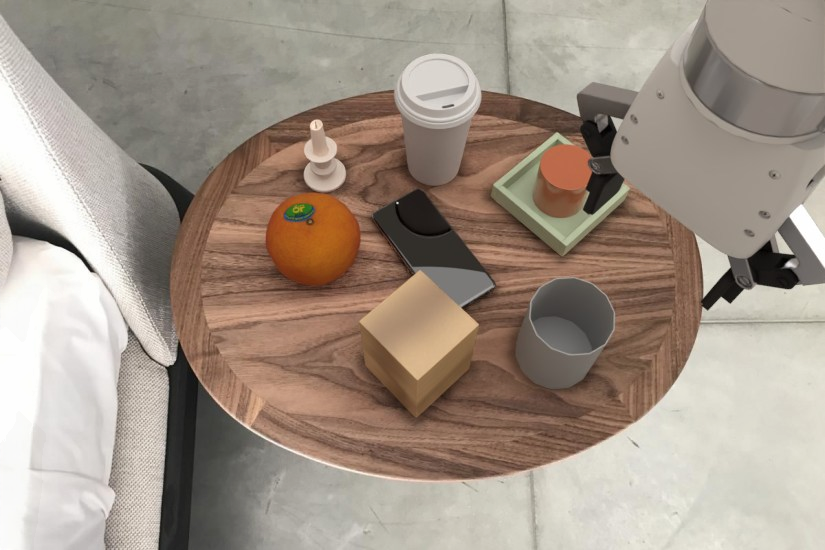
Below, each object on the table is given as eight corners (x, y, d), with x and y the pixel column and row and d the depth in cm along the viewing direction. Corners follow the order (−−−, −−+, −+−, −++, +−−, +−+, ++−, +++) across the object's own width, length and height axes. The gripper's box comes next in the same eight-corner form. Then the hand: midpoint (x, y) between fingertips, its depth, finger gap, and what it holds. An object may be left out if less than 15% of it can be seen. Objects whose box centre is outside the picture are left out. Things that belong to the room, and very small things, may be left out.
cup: (504, 328, 80) (516, 289, 71) (572, 308, 81) (593, 267, 72) (532, 399, 76) (549, 366, 67) (603, 377, 77) (629, 342, 69)
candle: (314, 199, 88) (303, 146, 78) (297, 168, 90) (285, 113, 81) (353, 183, 89) (346, 129, 80) (335, 152, 91) (327, 96, 82)
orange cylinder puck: (595, 196, 87) (607, 167, 82) (560, 227, 85) (571, 199, 80) (555, 165, 90) (565, 134, 84) (521, 194, 87) (528, 165, 82)
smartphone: (446, 317, 79) (368, 213, 85) (445, 321, 80) (369, 218, 86) (499, 284, 81) (420, 185, 87) (498, 289, 82) (420, 190, 88)
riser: (469, 368, 78) (479, 324, 67) (416, 418, 75) (417, 380, 65) (418, 319, 80) (420, 269, 70) (365, 365, 78) (358, 321, 67)
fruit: (379, 267, 83) (376, 231, 76) (301, 312, 81) (291, 280, 74) (331, 202, 87) (325, 163, 80) (256, 244, 85) (242, 207, 78)
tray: (624, 200, 88) (630, 188, 86) (562, 257, 84) (566, 246, 82) (553, 144, 92) (557, 131, 89) (490, 196, 88) (492, 184, 86)
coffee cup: (390, 192, 88) (388, 111, 75) (400, 130, 93) (399, 43, 79) (468, 200, 88) (479, 120, 74) (474, 137, 92) (486, 51, 79)
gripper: (994, 124, 31) (800, 296, 46) (669, -72, 37) (592, 139, 52) (905, 227, 29) (732, 373, 44) (573, -1, 34) (522, 199, 49)
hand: (656, 246), depth 48 cm, fingers open, 9 cm apart
